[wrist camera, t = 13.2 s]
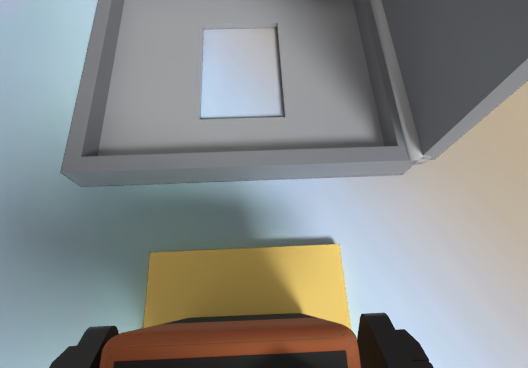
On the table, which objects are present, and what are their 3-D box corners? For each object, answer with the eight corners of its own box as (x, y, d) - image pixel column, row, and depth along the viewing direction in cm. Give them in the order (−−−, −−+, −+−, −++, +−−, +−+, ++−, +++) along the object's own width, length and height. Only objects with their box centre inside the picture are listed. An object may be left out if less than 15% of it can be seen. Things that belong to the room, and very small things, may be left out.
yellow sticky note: (368, 479, 15) (372, 486, 14) (132, 495, 14) (127, 503, 14) (337, 245, 19) (339, 244, 18) (153, 254, 18) (150, 252, 18)
